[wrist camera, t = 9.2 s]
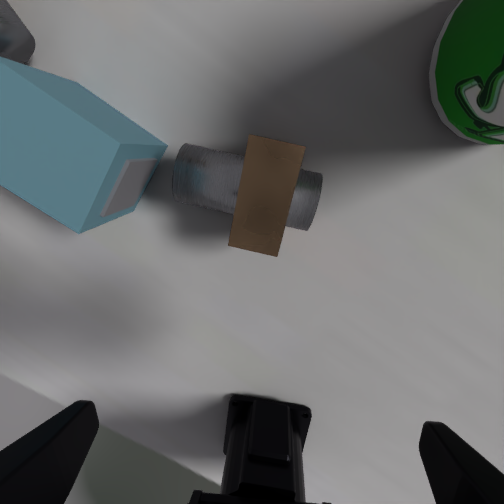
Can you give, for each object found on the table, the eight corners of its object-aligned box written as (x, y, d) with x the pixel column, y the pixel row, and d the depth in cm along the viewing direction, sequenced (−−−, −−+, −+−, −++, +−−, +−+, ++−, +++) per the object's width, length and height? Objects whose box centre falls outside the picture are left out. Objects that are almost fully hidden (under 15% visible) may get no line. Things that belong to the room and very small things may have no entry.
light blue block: (171, 147, 17) (124, 146, 12) (136, 212, 19) (82, 236, 13) (75, 80, 16) (-20, 48, 11) (47, 154, 18) (-47, 155, 13)
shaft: (320, 152, 16) (336, 153, 12) (297, 234, 18) (304, 262, 13) (201, 125, 16) (171, 116, 12) (190, 210, 18) (160, 230, 14)
